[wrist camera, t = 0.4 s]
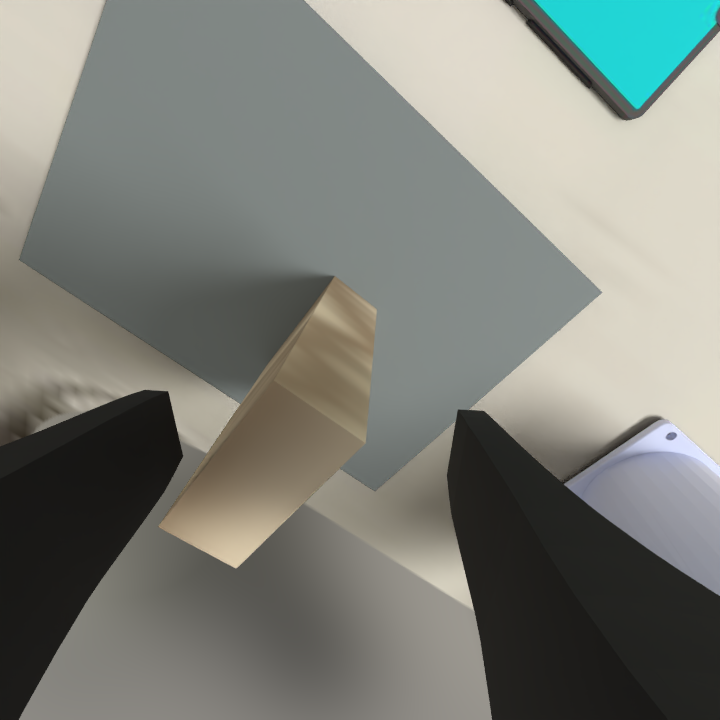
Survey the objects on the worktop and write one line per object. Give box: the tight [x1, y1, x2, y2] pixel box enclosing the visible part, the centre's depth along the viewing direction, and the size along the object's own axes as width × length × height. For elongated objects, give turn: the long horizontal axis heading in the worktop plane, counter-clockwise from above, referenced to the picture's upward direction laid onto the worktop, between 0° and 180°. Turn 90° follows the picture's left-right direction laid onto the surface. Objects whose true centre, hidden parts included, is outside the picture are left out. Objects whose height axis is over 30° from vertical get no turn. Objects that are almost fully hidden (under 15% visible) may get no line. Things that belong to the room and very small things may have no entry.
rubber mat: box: [19, 0, 602, 491], centre depth 17 cm, size 22×16×1 cm
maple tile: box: [158, 276, 377, 568], centre depth 14 cm, size 2×6×10 cm, turn 142°
